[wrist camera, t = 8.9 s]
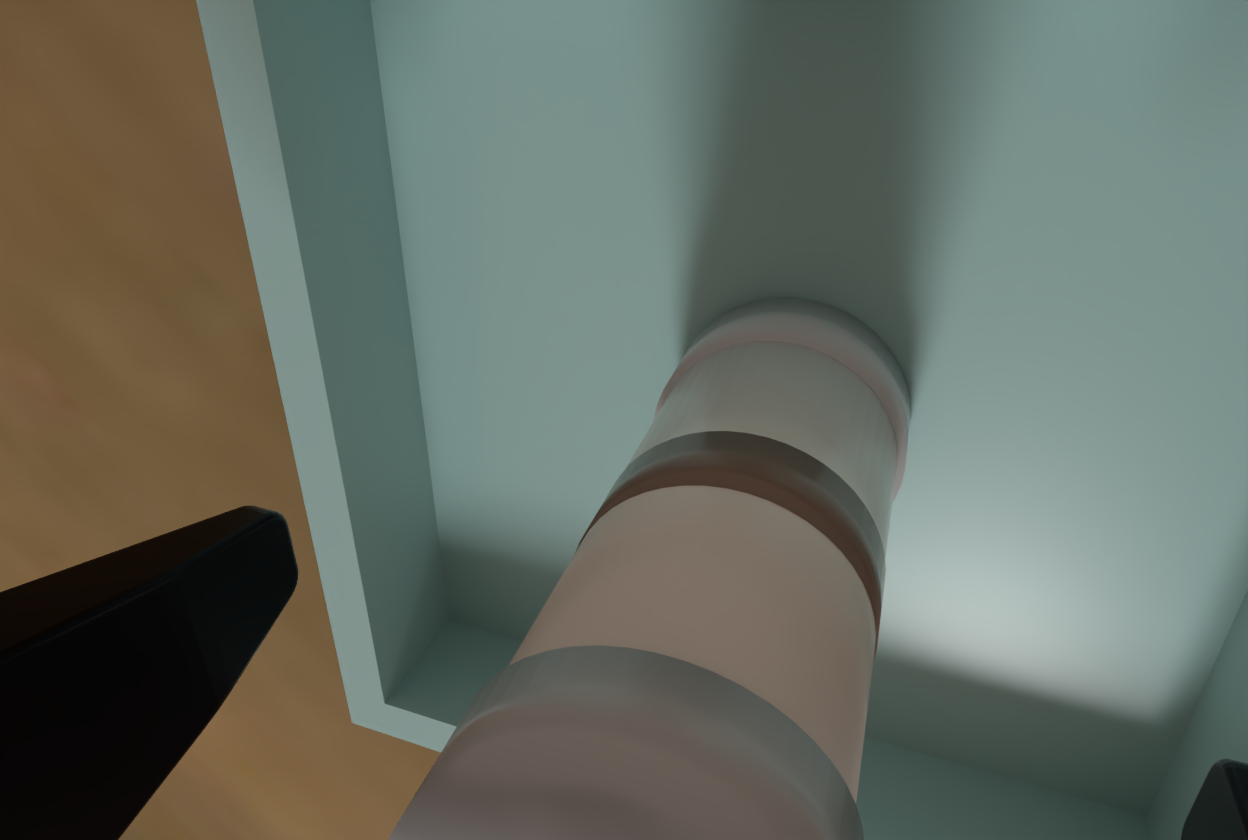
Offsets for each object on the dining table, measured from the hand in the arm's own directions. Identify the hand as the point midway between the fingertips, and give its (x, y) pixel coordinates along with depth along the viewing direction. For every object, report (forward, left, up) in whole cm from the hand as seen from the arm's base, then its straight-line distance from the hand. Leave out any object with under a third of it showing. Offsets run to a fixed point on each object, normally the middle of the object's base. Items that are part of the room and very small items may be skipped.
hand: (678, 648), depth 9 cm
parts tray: (0, 0, -6) cm, 6 cm away
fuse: (0, 0, -5) cm, 5 cm away
